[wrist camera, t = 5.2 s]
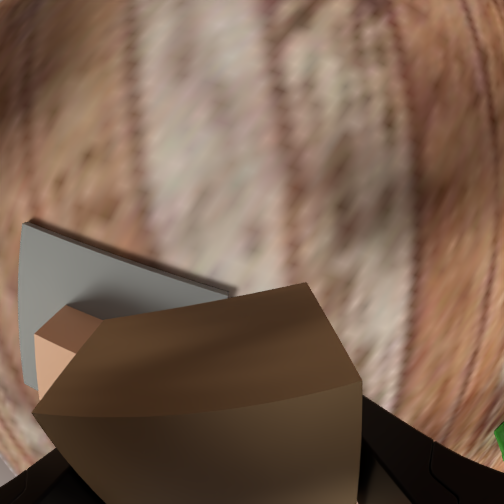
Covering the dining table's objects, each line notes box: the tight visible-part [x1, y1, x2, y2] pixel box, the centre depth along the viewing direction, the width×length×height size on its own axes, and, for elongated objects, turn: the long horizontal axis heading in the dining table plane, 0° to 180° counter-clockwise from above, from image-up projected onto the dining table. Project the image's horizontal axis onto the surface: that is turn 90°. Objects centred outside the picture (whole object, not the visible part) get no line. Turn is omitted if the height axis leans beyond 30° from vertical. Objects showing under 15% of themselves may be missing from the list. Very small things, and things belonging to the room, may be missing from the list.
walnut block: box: [32, 282, 362, 504], centre depth 6 cm, size 6×6×4 cm
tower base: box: [18, 222, 228, 400], centre depth 16 cm, size 14×14×5 cm
